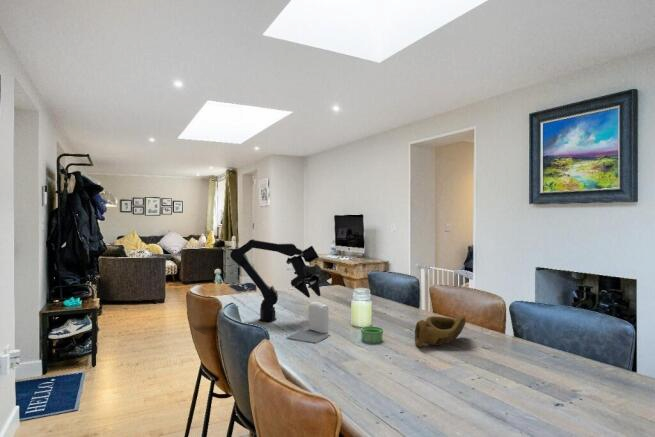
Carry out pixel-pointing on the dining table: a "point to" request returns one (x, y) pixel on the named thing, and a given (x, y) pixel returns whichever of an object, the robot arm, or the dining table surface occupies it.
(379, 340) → the ramekin
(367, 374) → the dining table surface
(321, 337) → the mat
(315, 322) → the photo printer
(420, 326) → the brown looped sculpture
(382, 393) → the dining table surface
